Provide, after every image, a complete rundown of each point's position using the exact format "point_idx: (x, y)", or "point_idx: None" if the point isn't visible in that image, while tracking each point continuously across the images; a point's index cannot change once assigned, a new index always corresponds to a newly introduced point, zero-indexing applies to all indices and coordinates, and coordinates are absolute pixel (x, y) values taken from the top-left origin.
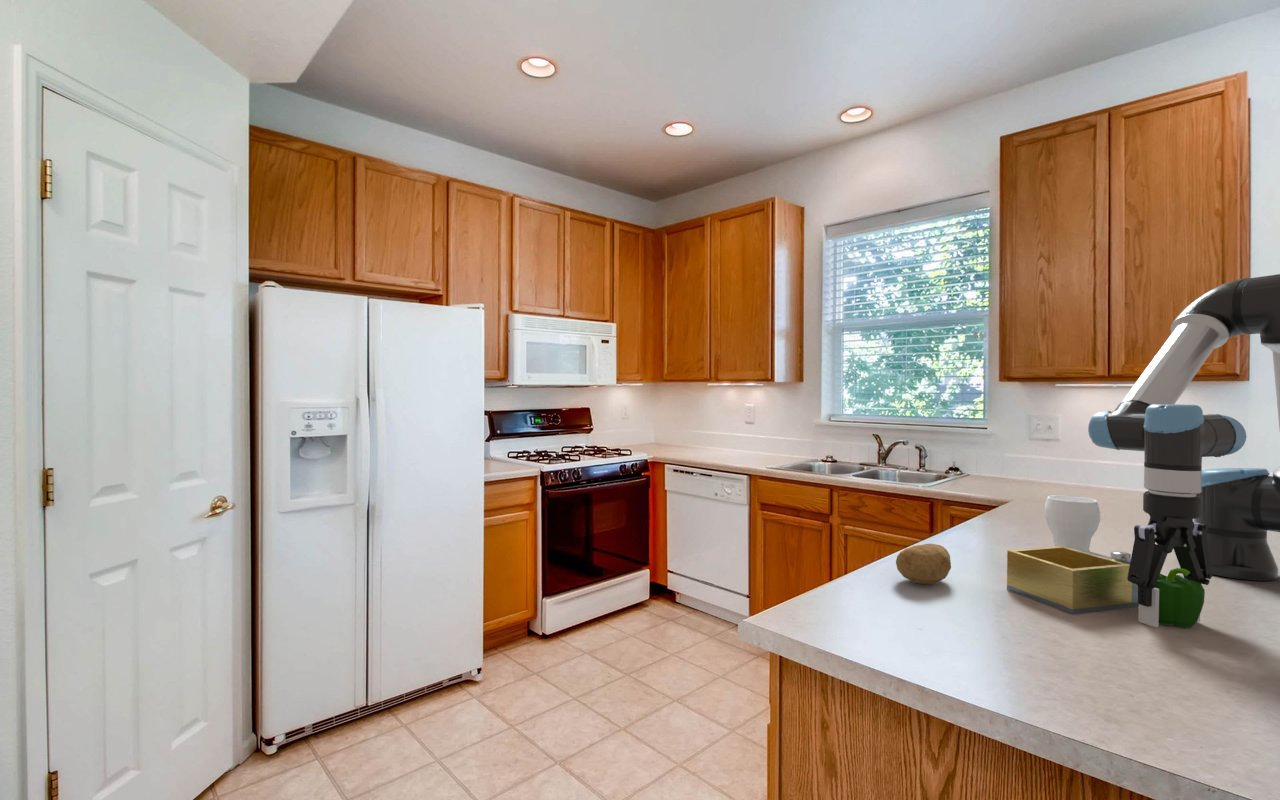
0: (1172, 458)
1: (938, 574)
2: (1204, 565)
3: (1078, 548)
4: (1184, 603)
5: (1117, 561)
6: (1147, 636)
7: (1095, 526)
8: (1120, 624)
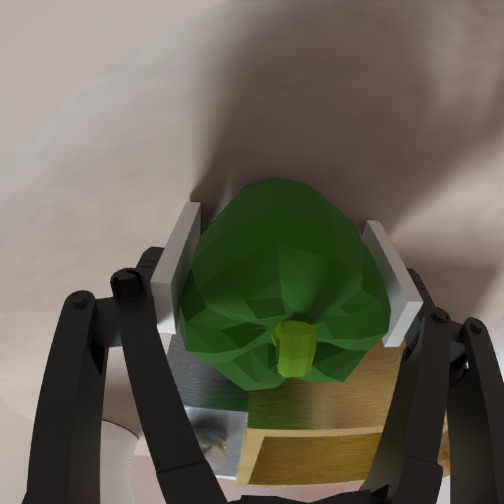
0: None
1: None
2: (86, 349)
3: (108, 452)
4: (349, 220)
5: (247, 444)
6: (453, 198)
7: None
8: (415, 266)
